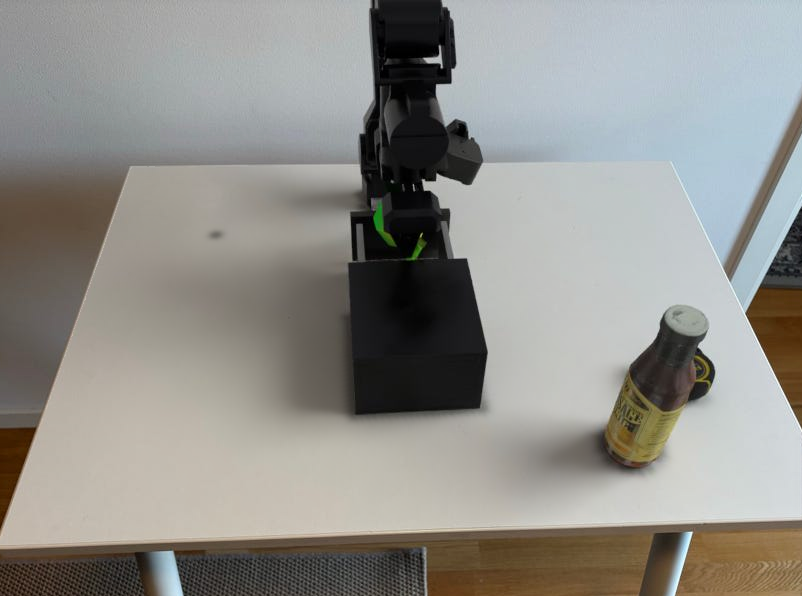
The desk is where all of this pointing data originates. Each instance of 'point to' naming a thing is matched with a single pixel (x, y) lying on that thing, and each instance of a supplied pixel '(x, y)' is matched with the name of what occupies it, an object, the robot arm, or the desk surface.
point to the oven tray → (375, 247)
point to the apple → (389, 239)
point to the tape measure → (702, 375)
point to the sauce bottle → (656, 389)
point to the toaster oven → (415, 336)
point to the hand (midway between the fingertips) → (404, 235)
